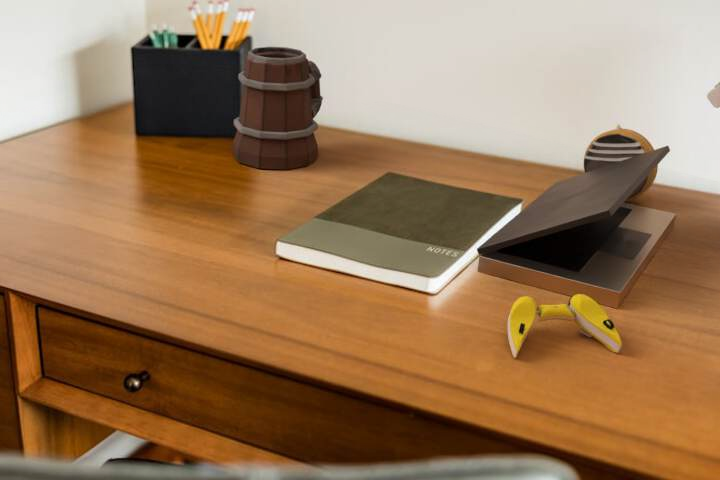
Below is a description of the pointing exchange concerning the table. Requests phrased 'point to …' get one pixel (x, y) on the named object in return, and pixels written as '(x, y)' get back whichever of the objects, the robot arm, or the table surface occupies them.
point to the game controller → (577, 310)
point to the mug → (277, 109)
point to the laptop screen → (577, 201)
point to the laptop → (587, 255)
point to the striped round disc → (619, 153)
